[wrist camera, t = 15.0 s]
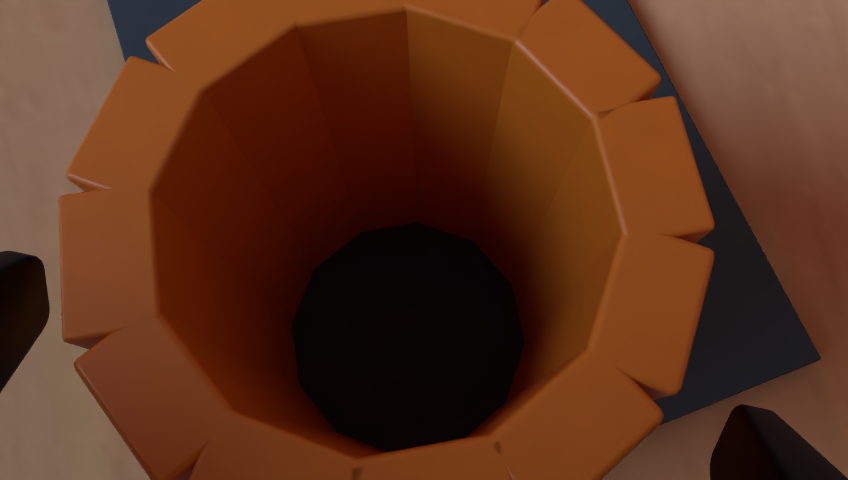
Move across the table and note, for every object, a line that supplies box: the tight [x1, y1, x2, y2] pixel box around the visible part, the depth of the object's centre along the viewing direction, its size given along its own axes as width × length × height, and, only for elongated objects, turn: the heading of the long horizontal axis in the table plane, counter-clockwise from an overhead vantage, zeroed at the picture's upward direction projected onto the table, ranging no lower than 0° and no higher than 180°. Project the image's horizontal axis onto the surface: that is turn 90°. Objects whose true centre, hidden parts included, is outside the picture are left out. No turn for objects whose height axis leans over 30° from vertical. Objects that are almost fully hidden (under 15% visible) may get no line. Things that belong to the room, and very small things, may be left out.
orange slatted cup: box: [59, 0, 715, 480], centre depth 11 cm, size 7×7×8 cm
